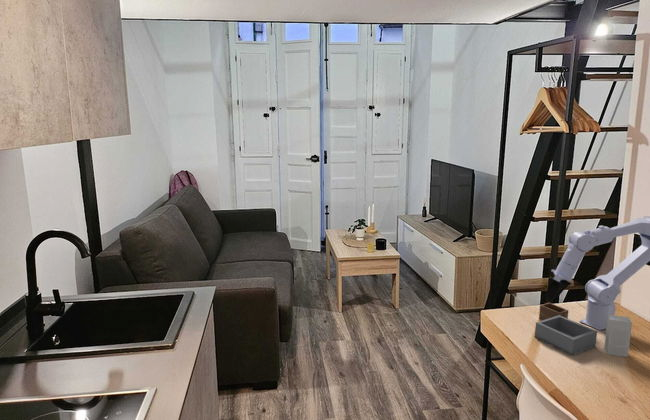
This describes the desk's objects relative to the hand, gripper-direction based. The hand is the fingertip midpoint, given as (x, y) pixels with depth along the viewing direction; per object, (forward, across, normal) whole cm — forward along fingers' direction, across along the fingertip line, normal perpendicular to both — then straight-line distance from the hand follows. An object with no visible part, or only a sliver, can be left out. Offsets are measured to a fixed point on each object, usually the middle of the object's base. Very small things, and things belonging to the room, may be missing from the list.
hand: (551, 297), depth 169 cm
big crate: (+10, +8, +11) cm, 17 cm away
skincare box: (+5, +5, +25) cm, 26 cm away
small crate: (+9, -6, +3) cm, 11 cm away
